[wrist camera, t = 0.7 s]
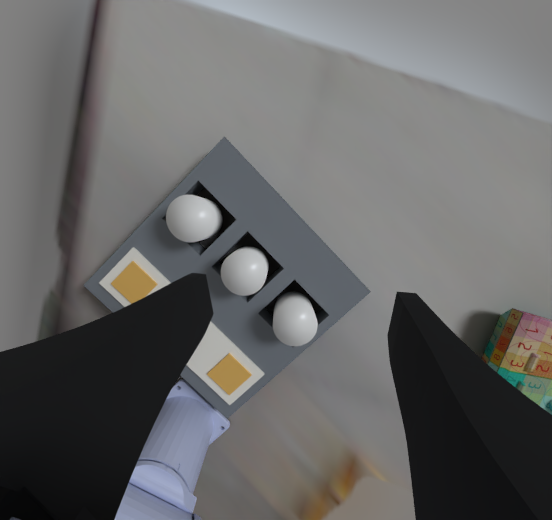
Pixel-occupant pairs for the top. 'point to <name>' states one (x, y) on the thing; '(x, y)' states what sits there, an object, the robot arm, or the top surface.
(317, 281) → the board
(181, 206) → the button
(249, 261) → the button middle
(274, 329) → the button
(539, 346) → the puzzle game
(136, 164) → the top surface
